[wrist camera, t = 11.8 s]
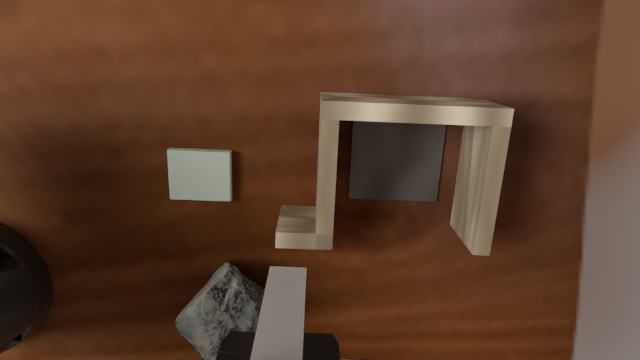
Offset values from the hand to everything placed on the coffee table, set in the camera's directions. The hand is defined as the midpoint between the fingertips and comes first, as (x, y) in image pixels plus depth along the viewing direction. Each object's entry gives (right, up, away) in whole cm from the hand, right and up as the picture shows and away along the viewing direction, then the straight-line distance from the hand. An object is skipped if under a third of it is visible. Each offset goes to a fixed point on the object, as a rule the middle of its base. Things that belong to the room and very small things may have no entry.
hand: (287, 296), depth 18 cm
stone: (-8, -7, +30) cm, 32 cm away
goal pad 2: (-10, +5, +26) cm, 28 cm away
